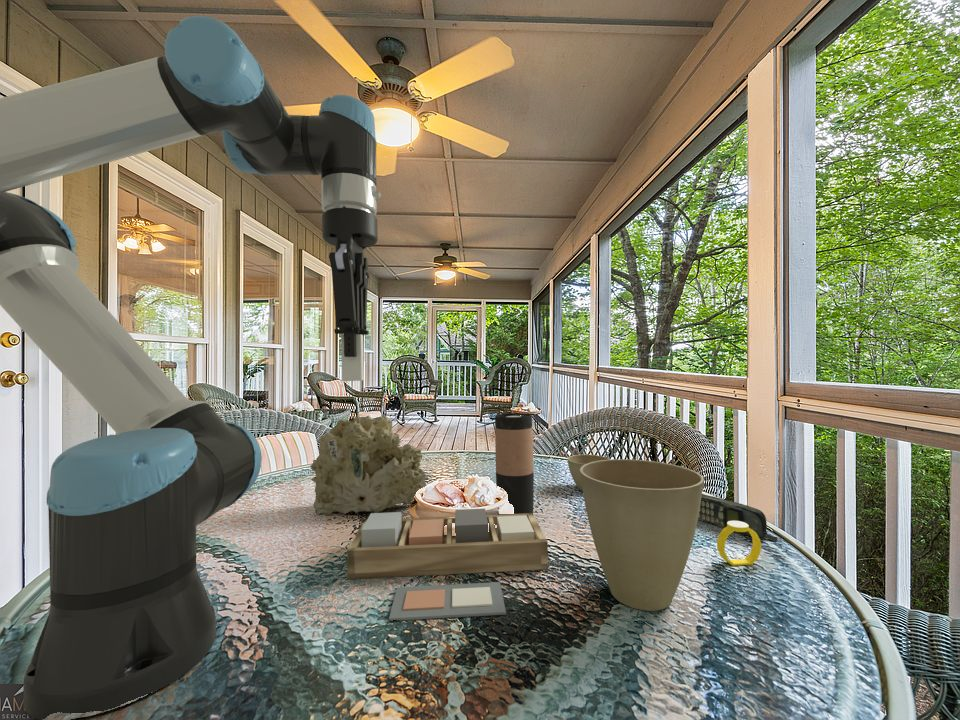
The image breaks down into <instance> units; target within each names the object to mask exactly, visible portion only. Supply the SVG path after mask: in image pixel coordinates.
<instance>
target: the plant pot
mask: <svg viewBox="0 0 960 720" xmlns="http://www.w3.org/2000/svg"><path fill="white" fill-rule="evenodd" d="M580 475H581V482H582V488H583V490H582V494H583V498H584V499H583V500H584V505H585V511H586V515H587V520H588V524H589V529H590V532H591V536H592V540H593V543H594V547H595V550H596V553H597V557H598V560H599V563H600V567H601V569H602V571H603V572H602V573H603V575H604V577H605V579H606V583H607V585H608V588H609V591H610V593H611V595H612V596H613V597H614V598H615V599H616V600H617V601H618V602H619V603H621V604H623V605H624V606H627V607H629V608H632V609H635V610H640V611H646V612H647V611H649V612H654V611H660V610H661V611H662V610H664V609H666V608H668V607H669V606H670V605H672V601H673V599H674V597H675V595H676V592H677V590H678V587H679V586H680V582H681V579H682V577H683V574H684V572H685V568H686V566H687V562H688V559H689V556H690V553H691V550H692V546H693V542H694V538H695V534H696V530H697V525H698V521H699V520H698V516H699V510H700V504H701V497H702V494H703V489H704V482H705V479H704V477H703V476H702V475H701V474H700V473H699V472H697V471H695V470H694V469H693V470H692V469H690V468H687V467H684V466H680V465H675V464H672V463H667V462H660V461H652V460H646V459H645V460H643V459H631V458H629V459H628V458H626V459H625V458H624V459H623V458H618V459H610V460H600V461H595V462H591V463H588V464H585V465H583V466H582V467H581V468H580Z"/></svg>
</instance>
